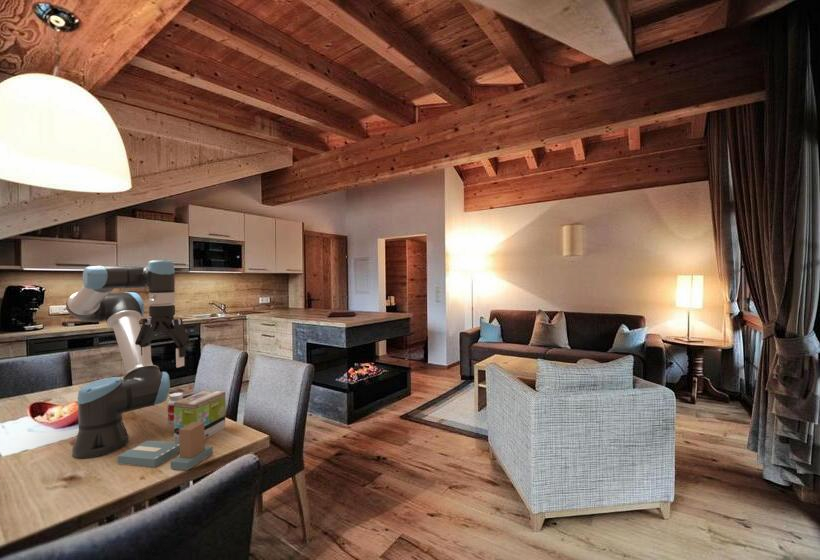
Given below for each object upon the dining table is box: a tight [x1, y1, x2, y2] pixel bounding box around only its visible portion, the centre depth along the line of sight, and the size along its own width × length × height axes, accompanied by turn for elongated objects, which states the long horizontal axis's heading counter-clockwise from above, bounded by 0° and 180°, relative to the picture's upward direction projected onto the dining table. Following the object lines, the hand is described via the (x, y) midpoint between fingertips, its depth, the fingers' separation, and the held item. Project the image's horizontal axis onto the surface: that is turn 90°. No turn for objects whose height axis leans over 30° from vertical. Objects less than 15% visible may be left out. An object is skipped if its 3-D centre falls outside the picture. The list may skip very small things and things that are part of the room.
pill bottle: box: [166, 392, 185, 424], centre depth 152 cm, size 6×6×11 cm
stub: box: [169, 422, 214, 471], centre depth 119 cm, size 6×11×11 cm, turn 169°
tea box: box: [173, 389, 226, 443], centre depth 138 cm, size 15×10×15 cm
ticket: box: [116, 439, 180, 468], centre depth 122 cm, size 14×11×3 cm
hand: (163, 365), depth 128 cm, fingers open, 13 cm apart
